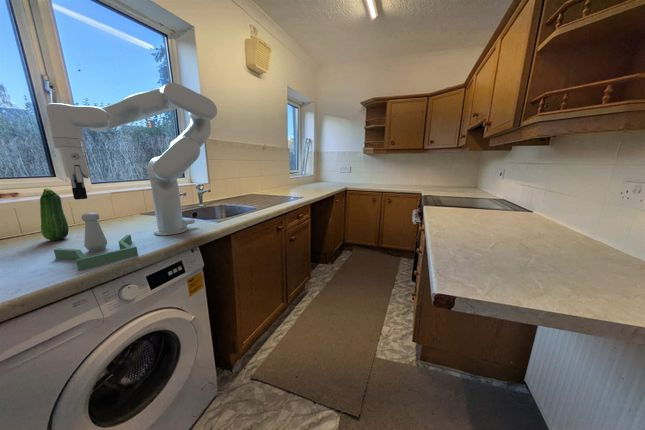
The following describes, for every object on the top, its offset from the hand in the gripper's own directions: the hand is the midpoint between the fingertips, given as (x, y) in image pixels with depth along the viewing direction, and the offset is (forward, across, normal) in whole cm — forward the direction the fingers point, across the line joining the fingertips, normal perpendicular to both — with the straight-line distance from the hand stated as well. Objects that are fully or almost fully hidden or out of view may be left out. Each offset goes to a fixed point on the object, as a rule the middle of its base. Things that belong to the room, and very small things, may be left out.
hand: (80, 198), depth 86 cm
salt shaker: (+17, -8, -1) cm, 19 cm away
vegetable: (+17, +18, +6) cm, 26 cm away
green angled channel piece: (+17, -16, -1) cm, 23 cm away
